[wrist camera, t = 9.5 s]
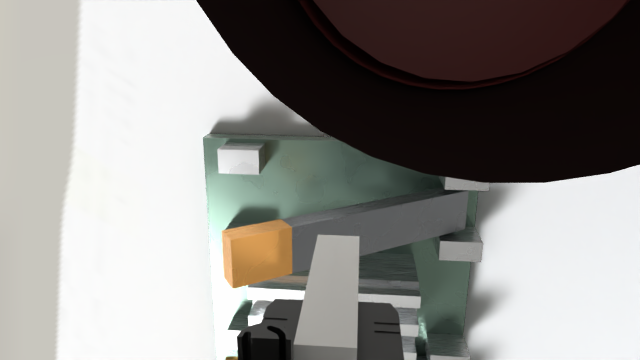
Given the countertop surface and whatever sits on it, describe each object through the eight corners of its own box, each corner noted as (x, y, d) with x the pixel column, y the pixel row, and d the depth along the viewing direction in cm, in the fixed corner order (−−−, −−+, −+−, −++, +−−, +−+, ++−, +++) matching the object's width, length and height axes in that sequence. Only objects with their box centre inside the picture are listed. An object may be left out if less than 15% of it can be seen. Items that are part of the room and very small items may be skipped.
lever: (453, 185, 25) (468, 190, 24) (450, 222, 25) (464, 229, 24) (221, 230, 19) (230, 239, 18) (224, 277, 20) (232, 288, 19)
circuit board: (478, 140, 25) (504, 166, 20) (451, 401, 30) (468, 471, 25) (209, 133, 26) (174, 156, 22) (223, 385, 31) (197, 450, 26)
